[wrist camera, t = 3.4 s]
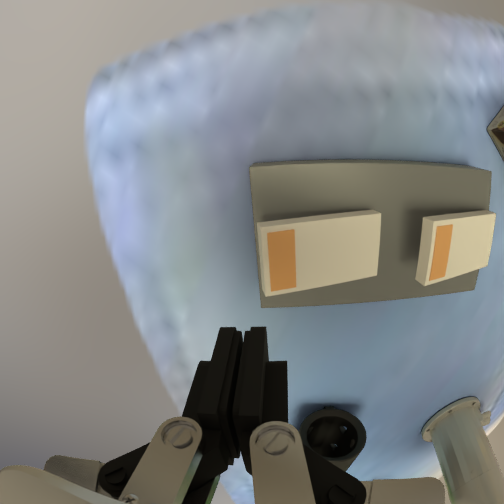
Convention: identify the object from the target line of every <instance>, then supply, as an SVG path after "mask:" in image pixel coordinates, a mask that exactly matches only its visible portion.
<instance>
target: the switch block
mask: <svg viewBox="0 0 504 504" xmlns="http://www.w3.org/2000/svg"><path fill="white" fill-rule="evenodd" d="M249 173H250V184H251V195H252V206H253V218H254V229H255V241H256V253H257V264H258V276H259V288H260V300H261V308H276V307H300V306H319V305H335V304H350V303H363V302H375V301H386V300H397V299H406V298H416V297H425V296H433V295H441V294H449V293H456V292H464V291H471V290H474V288H475V285H476V280H477V276H478V272H479V269H477V270H474V271H471V272H468V273H465V274H462V275H459V276H456V277H453V278H450V279H446V280H443V281H440V282H437V283H434V284H430V285H427V286H423V285H422V284H421V283H419V282H418V281H417V280H415V278H416V272H417V265H418V258H419V251H420V242H421V233H422V222H423V217H427V216H436V215H445V214H454V213H463V212H472V211H482V210H488V211H489V203H490V191H491V171H488V170H484V169H480V168H476V167H472V166H467V165H457V164H446V163H434V162H419V161H399V160H357V159H343V160H300V161H279V162H263V163H253V164H252V165H251V166H250V167H249ZM364 210H375V211H377V212H379V213H381V230H380V246H379V258H378V269H377V276H372V277H367V278H363V279H358V280H353V281H348V282H343V283H338V284H333V285H328V286H323V287H318V288H312V289H307V290H302V291H296V292H291V293H285V294H279V295H273V296H267V297H266V296H265V294H264V292H263V290H262V280H261V268H260V256H259V243H258V231H257V223H259V222H267V221H275V220H283V219H291V218H300V217H308V216H317V215H326V214H335V213H344V212H354V211H364Z"/></svg>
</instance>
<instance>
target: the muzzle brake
mask: <svg viewBox="0 0 504 504" xmlns="http://www.w3.org/2000/svg"><path fill="white" fill-rule="evenodd" d="M343 426H345V427H346V428H347V430H345V429H344V427H343ZM299 434H300V437H301V441H302V443H303V444H304V445H305V446H307V447H308V448H310V449H311V450H313V451H314V452H316V453H317V454H318V455H320V456H321V457H323V458H324V459H326V460H328V461H329V462H331V463H332V464H334V465H335V466H337V467H338V468H340V469H342V470H343V471H345V472H346V471H347V469H348V468H349V467H350V465H351V464H352V463H353V462H354V460H355V459H356V457H357V456H358V455H359V453H360V452H361V451H362V449H363V448H364V446H365V443H366V431H365V427H364V426H363V424H362V423H361V421H360V420H359V419H358V418H357V417H355V416H354V415H352V414H351V413H349V412H346V411H343V410H339V409H334V407H333V406H325V407H324V409H323V410H318V411H316V412H313V413H312V414H310V415H309V416H308V417H307V418H305V419H304V421H303V422H302V424H301V427H300V429H299ZM335 444H336V445H337V446H336V445H335Z"/></svg>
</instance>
